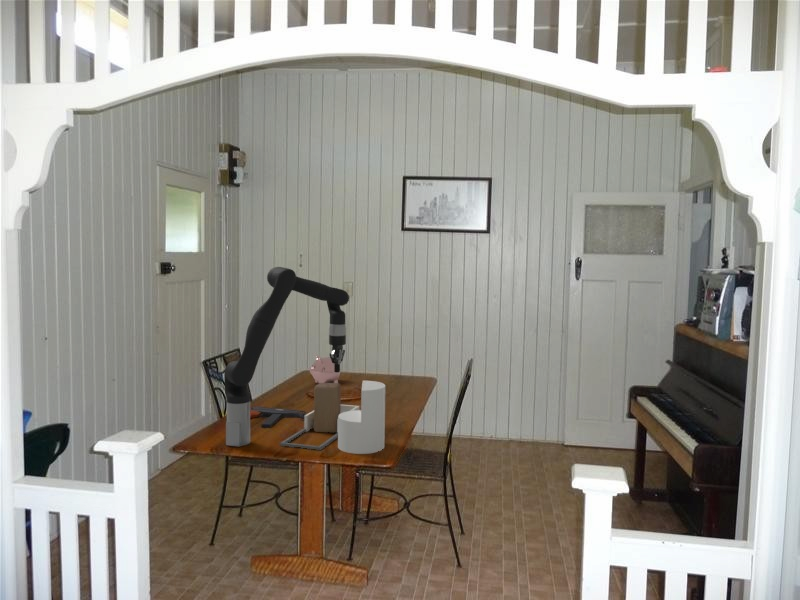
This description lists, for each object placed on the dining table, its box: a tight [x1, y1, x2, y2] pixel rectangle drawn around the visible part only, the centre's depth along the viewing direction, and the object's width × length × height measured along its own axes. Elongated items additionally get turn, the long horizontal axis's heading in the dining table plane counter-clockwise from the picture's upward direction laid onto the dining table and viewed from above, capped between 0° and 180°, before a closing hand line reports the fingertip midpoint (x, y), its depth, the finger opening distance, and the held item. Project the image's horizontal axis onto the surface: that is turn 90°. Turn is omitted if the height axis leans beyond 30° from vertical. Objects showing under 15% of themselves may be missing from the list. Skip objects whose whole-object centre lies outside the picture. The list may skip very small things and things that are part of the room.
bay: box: [279, 428, 338, 451], centre depth 268 cm, size 22×17×1 cm
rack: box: [303, 404, 360, 434], centre depth 290 cm, size 24×16×7 cm
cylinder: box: [337, 380, 386, 455], centre depth 261 cm, size 19×19×25 cm
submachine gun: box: [250, 406, 307, 429], centre depth 299 cm, size 32×3×25 cm
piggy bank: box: [309, 355, 341, 384], centre depth 379 cm, size 15×18×16 cm
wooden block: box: [313, 382, 342, 434], centre depth 284 cm, size 10×10×20 cm
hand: (337, 372), depth 293 cm, fingers closed
